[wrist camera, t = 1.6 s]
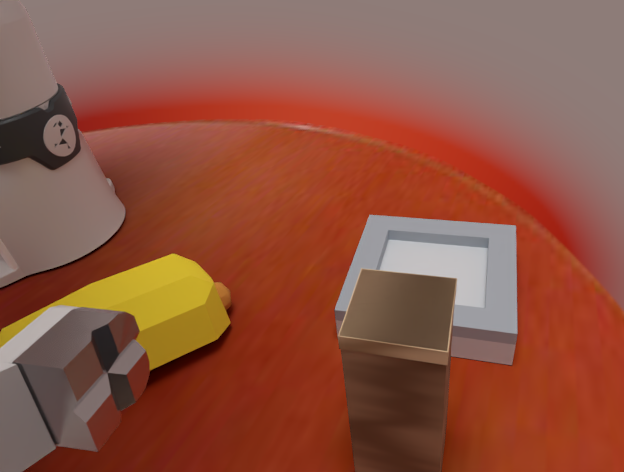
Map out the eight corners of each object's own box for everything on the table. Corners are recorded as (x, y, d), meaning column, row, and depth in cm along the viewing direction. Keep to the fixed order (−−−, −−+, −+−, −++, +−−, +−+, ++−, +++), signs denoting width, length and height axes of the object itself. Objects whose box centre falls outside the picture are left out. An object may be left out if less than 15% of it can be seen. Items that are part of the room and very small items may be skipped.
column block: (355, 483, 29) (337, 336, 22) (371, 414, 33) (361, 268, 26) (439, 503, 28) (448, 352, 21) (446, 428, 31) (457, 278, 24)
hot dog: (256, 334, 40) (215, 283, 45) (240, 267, 36) (196, 220, 41) (8, 469, 33) (-6, 390, 38) (-47, 404, 29) (-54, 326, 34)
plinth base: (338, 339, 38) (334, 309, 36) (371, 242, 47) (369, 214, 45) (512, 365, 35) (517, 334, 33) (511, 254, 44) (515, 225, 42)
